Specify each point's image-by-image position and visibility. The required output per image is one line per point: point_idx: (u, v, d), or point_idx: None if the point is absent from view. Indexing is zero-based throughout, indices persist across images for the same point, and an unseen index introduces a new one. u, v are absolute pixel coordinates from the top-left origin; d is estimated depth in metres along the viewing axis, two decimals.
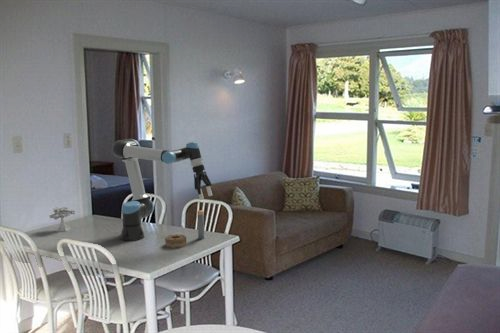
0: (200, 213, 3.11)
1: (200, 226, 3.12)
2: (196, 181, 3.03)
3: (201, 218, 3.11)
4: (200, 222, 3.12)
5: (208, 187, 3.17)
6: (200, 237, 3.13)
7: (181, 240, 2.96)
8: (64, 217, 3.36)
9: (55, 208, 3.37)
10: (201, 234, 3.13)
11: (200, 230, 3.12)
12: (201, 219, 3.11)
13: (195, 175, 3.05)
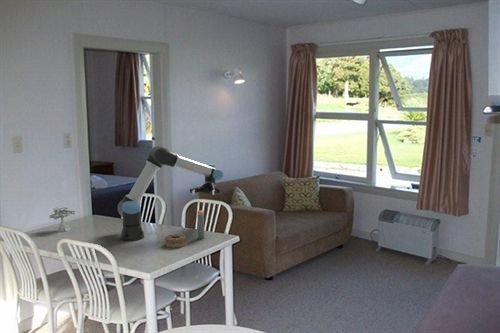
0: (200, 213, 3.11)
1: (200, 226, 3.12)
2: None
3: (201, 218, 3.11)
4: (200, 222, 3.12)
5: (194, 192, 3.27)
6: (200, 237, 3.13)
7: (181, 240, 2.96)
8: (64, 217, 3.36)
9: (55, 208, 3.37)
10: (201, 234, 3.13)
11: (200, 230, 3.12)
12: (201, 219, 3.11)
13: None
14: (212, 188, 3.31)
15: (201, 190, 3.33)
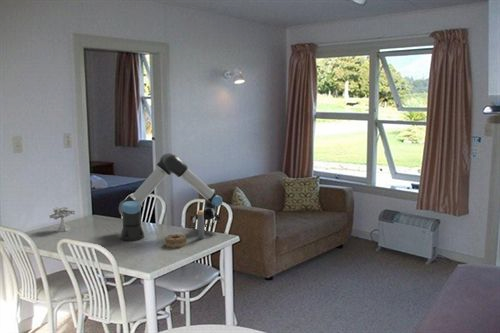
0: (200, 213, 3.11)
1: (200, 226, 3.12)
2: None
3: (201, 218, 3.11)
4: (200, 222, 3.12)
5: (195, 219, 3.27)
6: (200, 237, 3.13)
7: (181, 240, 2.96)
8: (64, 217, 3.36)
9: (55, 208, 3.37)
10: (201, 234, 3.13)
11: (200, 230, 3.12)
12: (201, 219, 3.11)
13: (216, 215, 3.36)
14: (213, 215, 3.31)
15: None
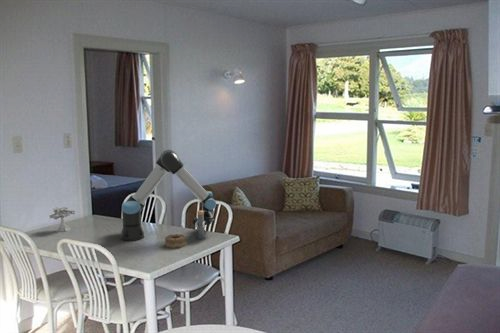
0: (200, 213, 3.11)
1: (200, 226, 3.12)
2: (211, 221, 3.19)
3: (201, 218, 3.11)
4: (200, 222, 3.12)
5: None
6: (200, 237, 3.13)
7: (181, 240, 2.96)
8: (64, 217, 3.36)
9: (55, 208, 3.37)
10: (201, 234, 3.13)
11: (200, 230, 3.12)
12: (201, 219, 3.11)
13: (213, 219, 3.24)
14: (206, 219, 3.20)
15: None
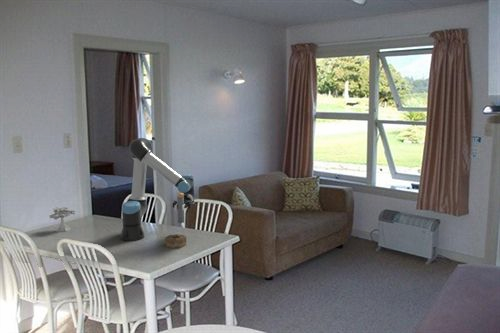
0: (180, 195, 2.97)
1: (180, 209, 2.98)
2: (191, 204, 3.06)
3: (181, 201, 2.97)
4: (179, 205, 2.98)
5: (177, 206, 3.00)
6: (180, 221, 2.99)
7: (181, 240, 2.96)
8: (64, 217, 3.36)
9: (55, 208, 3.37)
10: (181, 217, 2.99)
11: (180, 213, 2.98)
12: (181, 202, 2.97)
13: None
14: (186, 202, 3.06)
15: None
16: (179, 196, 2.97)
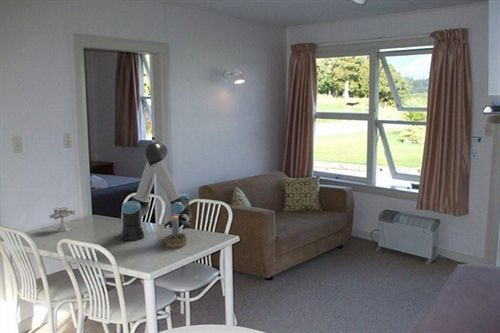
0: (174, 219, 2.97)
1: (174, 232, 2.98)
2: None
3: (175, 224, 2.97)
4: (174, 228, 2.97)
5: (169, 227, 3.01)
6: None
7: (181, 240, 2.96)
8: (64, 217, 3.36)
9: (55, 208, 3.37)
10: None
11: (174, 236, 2.98)
12: (175, 225, 2.97)
13: (189, 223, 3.10)
14: (183, 223, 3.06)
15: None
16: (173, 219, 2.97)
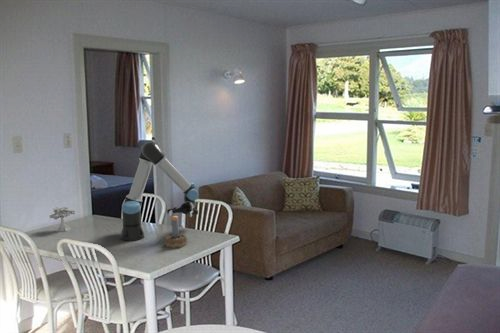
0: (174, 219, 2.97)
1: (174, 232, 2.98)
2: None
3: (175, 224, 2.97)
4: (174, 228, 2.97)
5: (172, 212, 3.15)
6: None
7: (181, 240, 2.96)
8: (64, 217, 3.36)
9: (55, 208, 3.37)
10: None
11: (174, 236, 2.98)
12: (175, 225, 2.97)
13: (195, 209, 3.23)
14: (190, 209, 3.19)
15: (179, 211, 3.20)
16: (173, 219, 2.97)
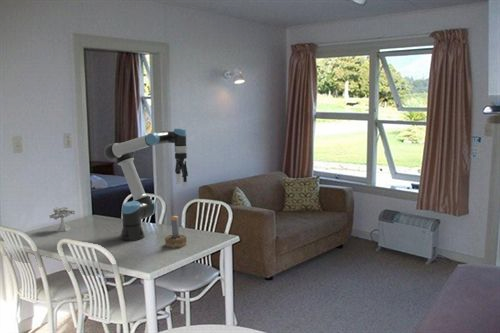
0: (174, 218, 2.97)
1: (174, 232, 2.98)
2: (185, 168, 3.04)
3: (175, 224, 2.97)
4: (174, 228, 2.97)
5: (179, 175, 3.18)
6: None
7: (181, 240, 2.96)
8: (64, 217, 3.36)
9: (55, 208, 3.37)
10: None
11: (174, 236, 2.98)
12: (175, 225, 2.97)
13: (184, 162, 3.04)
14: (181, 169, 3.06)
15: (180, 166, 3.14)
16: (173, 219, 2.97)
